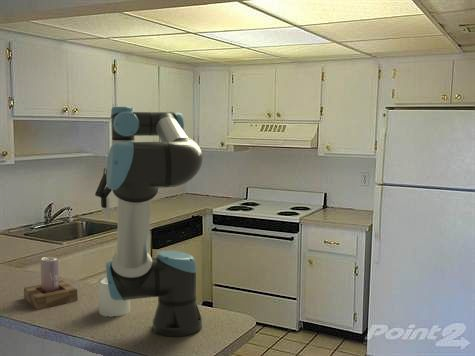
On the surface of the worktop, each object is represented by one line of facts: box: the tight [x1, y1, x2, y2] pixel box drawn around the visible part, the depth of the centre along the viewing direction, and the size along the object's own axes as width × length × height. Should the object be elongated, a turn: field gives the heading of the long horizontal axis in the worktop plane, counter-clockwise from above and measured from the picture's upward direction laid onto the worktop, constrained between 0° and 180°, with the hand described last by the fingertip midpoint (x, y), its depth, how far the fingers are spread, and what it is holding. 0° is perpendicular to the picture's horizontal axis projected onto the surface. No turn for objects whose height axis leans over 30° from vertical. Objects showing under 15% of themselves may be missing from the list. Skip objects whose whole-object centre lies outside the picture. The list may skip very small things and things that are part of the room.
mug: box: [97, 276, 131, 318], centre depth 174 cm, size 14×10×11 cm
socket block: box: [23, 279, 78, 310], centre depth 184 cm, size 14×14×4 cm
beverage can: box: [39, 256, 60, 294], centre depth 183 cm, size 6×6×15 cm
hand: (125, 215), depth 176 cm, fingers open, 13 cm apart
